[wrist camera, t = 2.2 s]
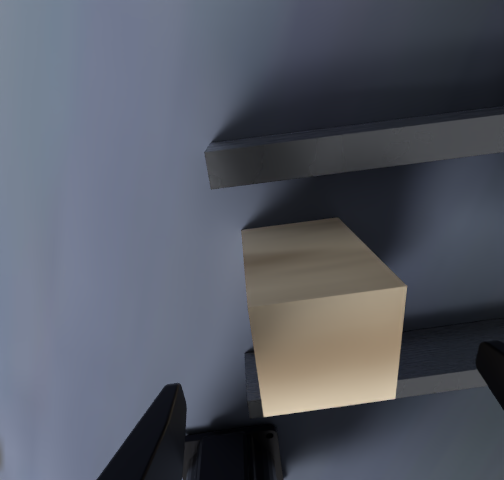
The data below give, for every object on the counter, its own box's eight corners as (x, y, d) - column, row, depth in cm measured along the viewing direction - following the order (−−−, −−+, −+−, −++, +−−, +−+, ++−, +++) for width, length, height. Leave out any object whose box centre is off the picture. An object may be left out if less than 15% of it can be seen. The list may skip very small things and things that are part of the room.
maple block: (337, 298, 16) (395, 398, 10) (252, 309, 16) (263, 417, 10) (337, 217, 14) (407, 286, 8) (241, 229, 14) (247, 307, 8)
